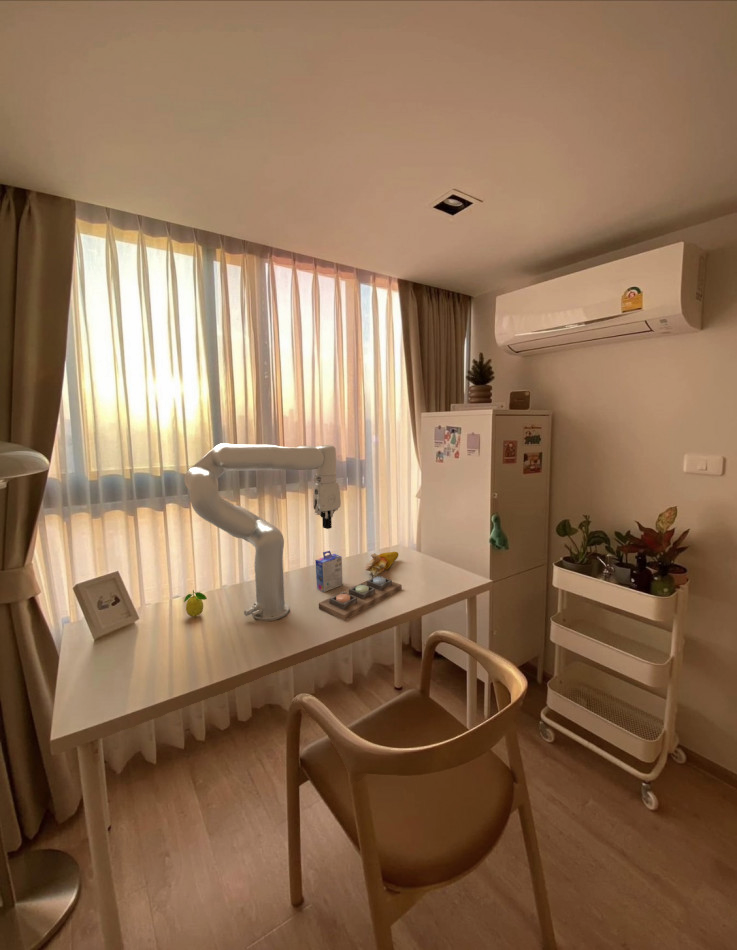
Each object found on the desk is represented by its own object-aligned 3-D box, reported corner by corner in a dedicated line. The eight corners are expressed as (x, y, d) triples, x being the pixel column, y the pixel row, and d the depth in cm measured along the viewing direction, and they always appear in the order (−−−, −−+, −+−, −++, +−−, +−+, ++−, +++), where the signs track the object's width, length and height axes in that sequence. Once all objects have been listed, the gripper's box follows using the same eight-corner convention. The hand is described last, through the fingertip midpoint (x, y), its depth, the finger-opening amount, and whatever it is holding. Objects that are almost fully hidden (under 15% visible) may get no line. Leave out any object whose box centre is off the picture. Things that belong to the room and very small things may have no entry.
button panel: (344, 620, 137) (344, 610, 137) (318, 608, 146) (318, 598, 145) (401, 589, 161) (401, 580, 160) (376, 580, 170) (376, 571, 169)
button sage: (362, 597, 150) (362, 592, 149) (352, 593, 153) (352, 588, 153) (371, 592, 153) (371, 587, 153) (361, 588, 157) (361, 584, 156)
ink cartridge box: (335, 581, 169) (334, 547, 167) (343, 585, 165) (342, 551, 163) (315, 588, 163) (314, 553, 160) (323, 592, 159) (322, 557, 156)
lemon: (208, 617, 140) (206, 590, 139) (190, 623, 136) (188, 595, 135) (200, 610, 145) (198, 584, 143) (183, 616, 141) (181, 589, 140)
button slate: (380, 588, 157) (380, 583, 157) (370, 584, 160) (370, 579, 160) (388, 584, 161) (388, 579, 160) (378, 580, 164) (378, 576, 164)
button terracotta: (343, 607, 142) (343, 601, 142) (333, 602, 146) (333, 597, 145) (353, 602, 146) (353, 596, 146) (343, 597, 149) (343, 592, 149)
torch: (397, 568, 192) (371, 581, 170) (384, 558, 195) (358, 569, 173) (406, 554, 189) (381, 566, 168) (393, 544, 193) (367, 554, 171)
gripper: (317, 483, 141) (318, 534, 143) (347, 477, 151) (348, 525, 154) (303, 480, 145) (305, 530, 148) (333, 475, 156) (334, 521, 159)
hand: (327, 527), depth 151 cm, fingers closed
